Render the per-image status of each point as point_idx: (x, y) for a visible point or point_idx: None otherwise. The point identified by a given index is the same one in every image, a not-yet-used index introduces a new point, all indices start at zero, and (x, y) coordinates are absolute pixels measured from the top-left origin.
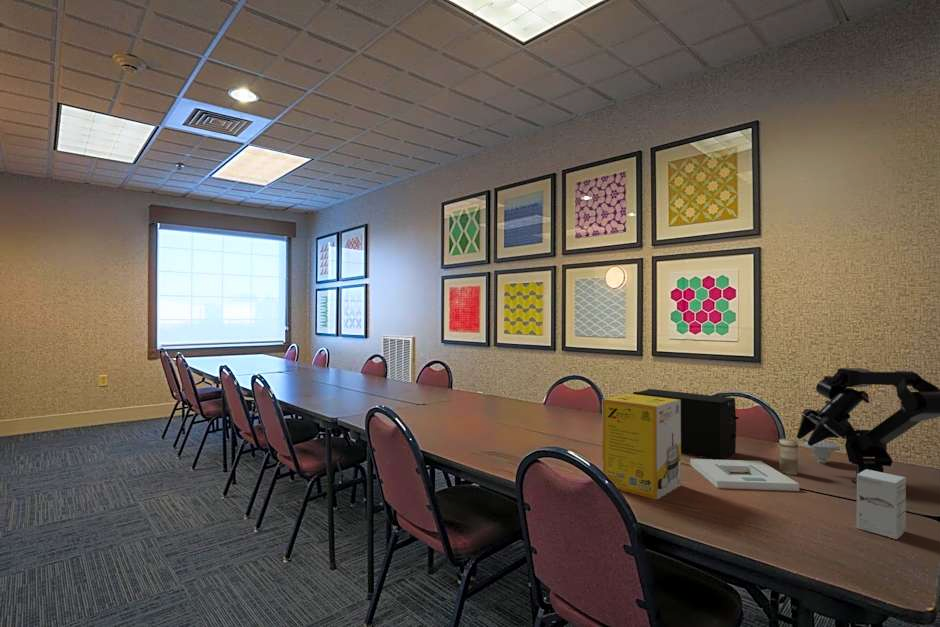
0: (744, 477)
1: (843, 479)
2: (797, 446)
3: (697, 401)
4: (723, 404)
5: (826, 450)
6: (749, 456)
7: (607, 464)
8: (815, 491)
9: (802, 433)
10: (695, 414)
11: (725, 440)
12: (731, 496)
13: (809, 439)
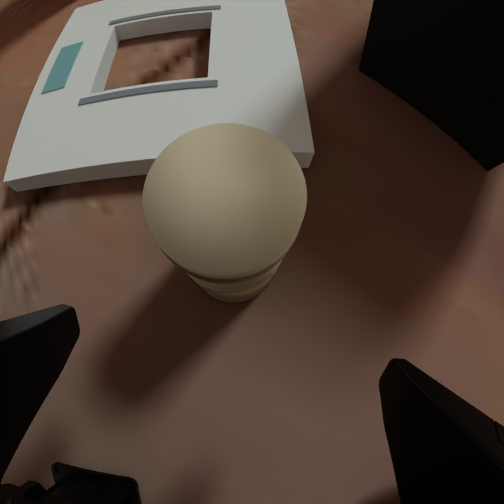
0: (79, 47)
1: (160, 468)
2: (178, 267)
3: None
4: None
5: None
6: (466, 203)
7: None
8: (9, 245)
9: (404, 422)
10: None
11: (431, 49)
12: (34, 41)
13: (36, 317)
